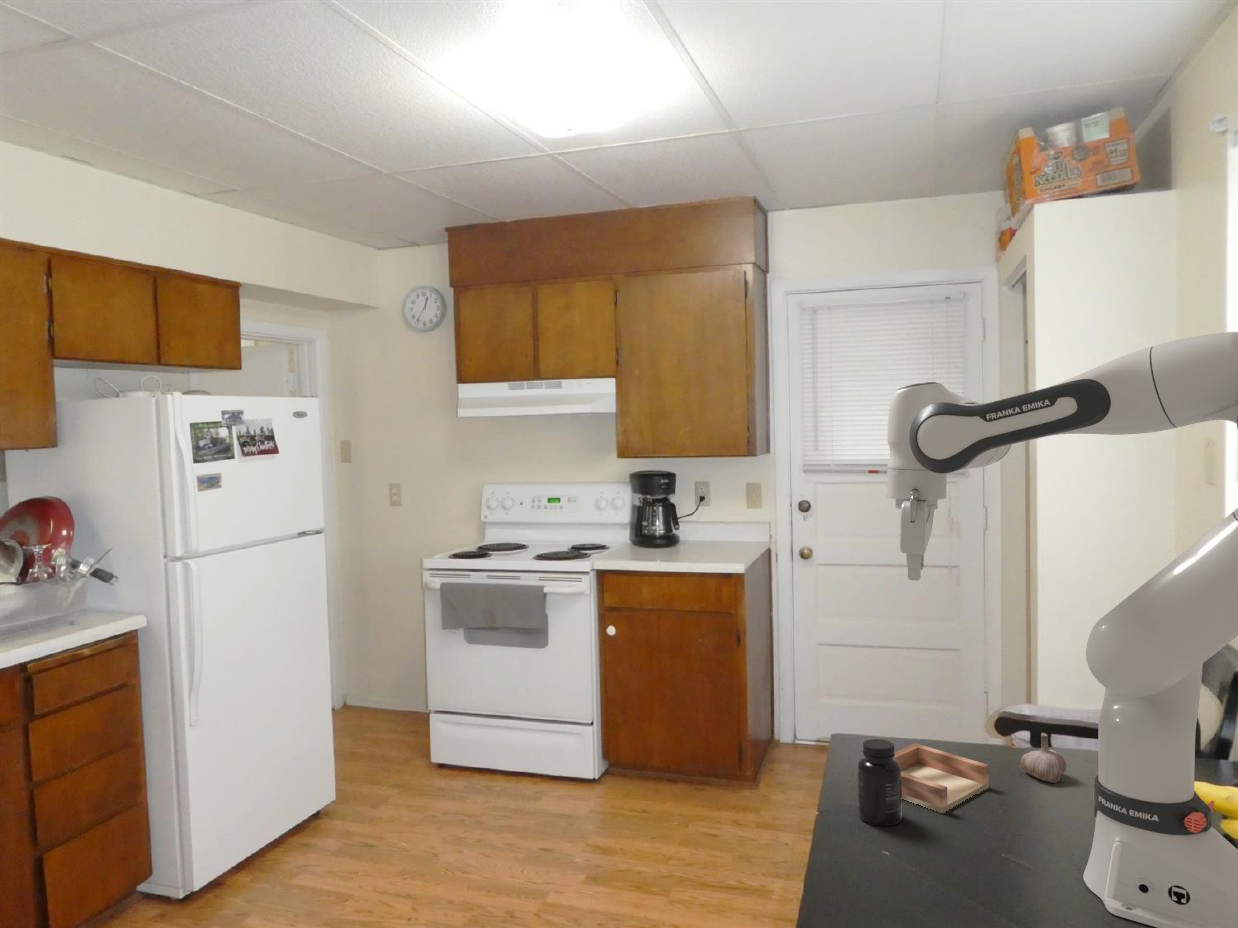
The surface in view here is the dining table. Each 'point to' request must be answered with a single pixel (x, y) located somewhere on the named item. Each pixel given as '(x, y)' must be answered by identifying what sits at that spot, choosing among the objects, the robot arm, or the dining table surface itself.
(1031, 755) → the garlic bulb
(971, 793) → the open-sided tray
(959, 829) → the dining table surface
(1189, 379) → the robot arm
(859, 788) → the supplement bottle
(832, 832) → the dining table surface
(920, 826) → the dining table surface
